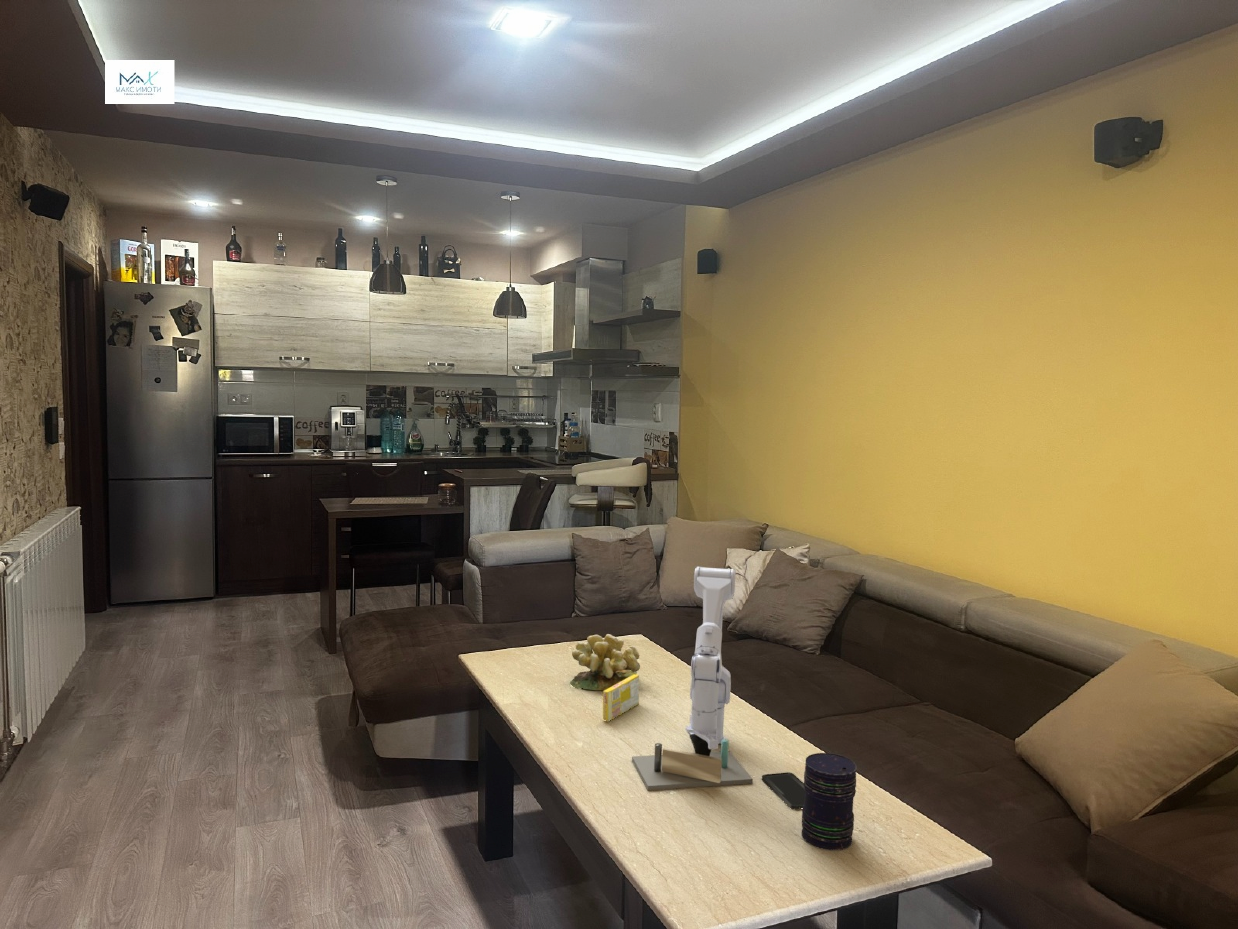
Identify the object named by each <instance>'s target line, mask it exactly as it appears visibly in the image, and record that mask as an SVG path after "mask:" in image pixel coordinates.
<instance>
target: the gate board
mask: <svg viewBox="0 0 1238 929" xmlns="http://www.w3.org/2000/svg"><path fill="white" fill-rule="evenodd" d="M654 757H655V754H652V755H639V756H638V755H633V756H631V762H632V763H634V764H633V765H634V767H635V769H636V772H637V773H638V774H639V777H640V779H641V780H643V781H642V783H643V784H644V787H645V788H646V790H647V791H658V790H662V791H663V790H672V789H673V790H675V789H676V788H677V789H689V788H703V787H704V788H705V787H718V786H732V785H733V786H734V785H745V784H746V785H747V784H748V785H750V784H753V782H754V780H753V777H752V776H751V775H750V773H749V772H748V771H747V770H746V769H745V768H744V766H743V765H742V764H741V763H740V761H739V759H737V757H736V756H735V755H734V754H733V753H732V751H731V750H728V765H727V768H722V769H721V782H720V783H716V782H711V781H707V780H702V779H697V778H693V777H688V776H683V775H678V774H674V773H669V772H664V771H662V761H661V772H655V771H654ZM710 757H715V758H720V759H721V750H720V751H711V752H710ZM677 789H676V790H677Z"/></svg>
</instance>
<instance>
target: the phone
mask: <svg viewBox="0 0 1238 929" xmlns="http://www.w3.org/2000/svg"><path fill="white" fill-rule="evenodd" d="M762 780H763V781H762ZM761 781H762V782H763V783H764V784H765V785H766V786H767V787H768V788H769V787H770V788H769V789H770V790H771V791H772V790H773V791H772V792H773V793H774V794H775V795H776V796H777V797H778V798H779V799H780V800H781V801H782V802H783V801H784V802H783V803H784V804H785V805H786V804H787V805H786V807H788V808H789V809H790V808H791V809H790V810H793V809H795V810H796V809H799V810H802V809H801V808H803V805H804V802H805V789H804V781H802V780H801V779H800V778H799V777H798V776H797V775H796V774H795V773H793V772H777V773H776V772H775V773H768V774H762V777H761ZM796 811H797V810H796Z"/></svg>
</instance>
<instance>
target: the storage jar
mask: <svg viewBox="0 0 1238 929" xmlns="http://www.w3.org/2000/svg"><path fill="white" fill-rule="evenodd" d="M803 774H804V775H803V783H804V789H805V802H804V805H803V809H801V811H802V813H801V828H802V829H801V837H802V839H803V840H804V841H805V842H806V843H808V845H810V846H813V847H815V848H817V849H820V850H825V851H830V852H831V851H837V852H838V851H844V850H846V849H848V848H850V847H851V845H853V832H854V829H855V828H854V826H855V825H854V824H855V823H854V822H855V813H854V799H855V796H856V792H857V791H856V787H857V764H856V763H855V762H854V761H853V760H851V759H850V758H848V757H846V756H844V755H840V754H836V753H829V752H816V753H812V754H809V755H808V756H806V758H805V766H804V772H803ZM843 849H844V850H843Z"/></svg>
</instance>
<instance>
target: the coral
mask: <svg viewBox="0 0 1238 929" xmlns="http://www.w3.org/2000/svg"><path fill="white" fill-rule="evenodd" d="M586 641H587V642H582V641H579V642H577V643H576V644H575V649H573V650H572V651H571V655H572V658H573V660H575V661H577V662H578V665H579V666H582V667H586V668H587V669H589V670H588V671H580V672H577V675H574V677H573V678H572V680H570V682H569V683H570V684H571V685H572V686H573V687H575V688H574V689H576V688H583V689H582V690H591V691H604V690H606V689H608V688H610V687H612V686H614V685H616V684H617V683H619V682H621V681H623V680H625V679H626V678H628V677H630V676H632V675H634V674H635V675H638V674H637V673H638V671H640V668H641V664H640V663H639V662H638V660H639V659H640V653H639V651H638V649H637V647H636V646H635V645H629V646H628V647H626V649H624V651H623V652H622V649H623V646H624V644H625V641H624V640H623V639H620V638H617V637H616V636H614V635H613V634H609V633H607V634H606V635H605V636H604V637H603V636H601V635H599V634H594V635H589V636H587V638H586ZM570 684H569V685H570Z"/></svg>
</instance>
